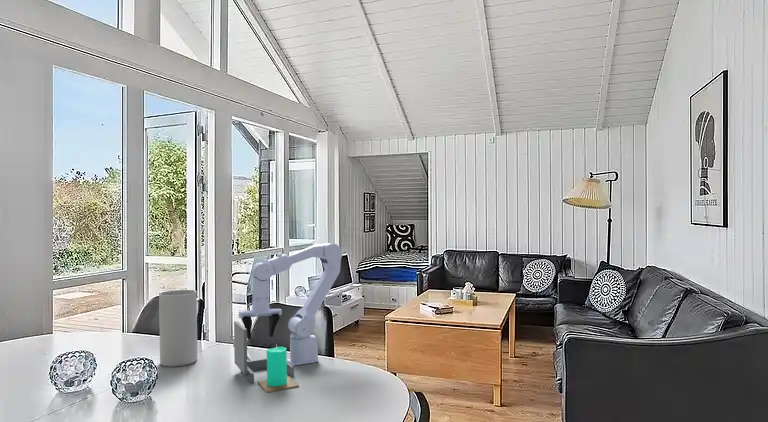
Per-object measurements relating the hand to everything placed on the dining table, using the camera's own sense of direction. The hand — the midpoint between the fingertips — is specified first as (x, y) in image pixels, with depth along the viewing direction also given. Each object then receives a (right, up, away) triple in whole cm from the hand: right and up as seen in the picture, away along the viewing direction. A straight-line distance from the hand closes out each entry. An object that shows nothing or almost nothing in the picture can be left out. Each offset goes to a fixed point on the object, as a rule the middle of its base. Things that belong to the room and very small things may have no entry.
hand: (260, 337), depth 178 cm
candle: (+10, -10, -18) cm, 22 cm away
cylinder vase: (-31, -11, +8) cm, 34 cm away
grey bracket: (+3, -10, -6) cm, 12 cm away
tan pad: (+10, -10, -18) cm, 23 cm away
